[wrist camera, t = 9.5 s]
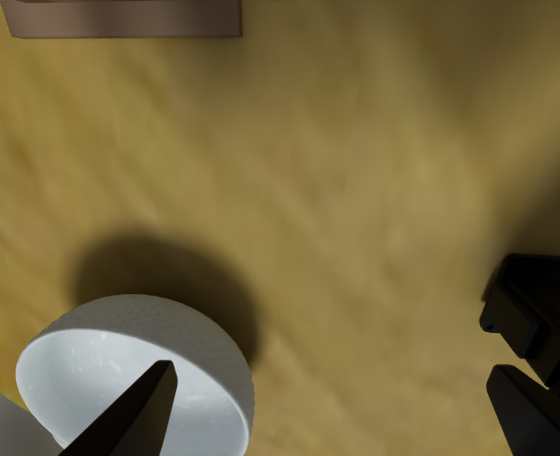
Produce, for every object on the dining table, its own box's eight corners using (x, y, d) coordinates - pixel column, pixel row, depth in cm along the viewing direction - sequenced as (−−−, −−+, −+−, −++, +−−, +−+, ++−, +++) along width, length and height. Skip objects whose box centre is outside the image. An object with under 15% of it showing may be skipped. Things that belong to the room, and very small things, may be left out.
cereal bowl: (56, 333, 28) (-20, 404, 22) (143, 223, 22) (72, 278, 16) (195, 422, 32) (165, 505, 26) (304, 351, 26) (301, 438, 19)
